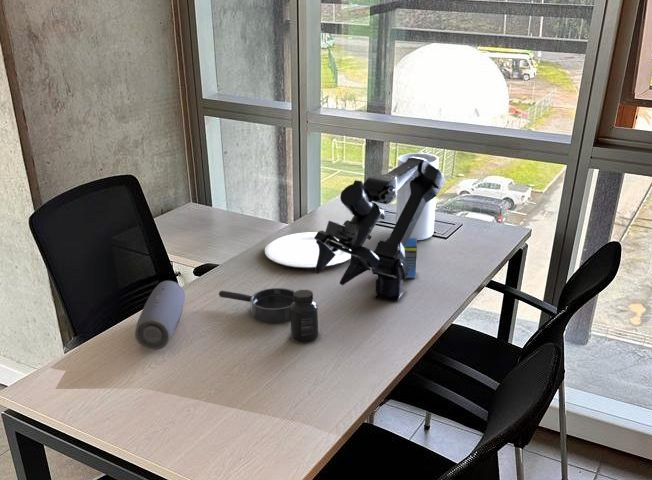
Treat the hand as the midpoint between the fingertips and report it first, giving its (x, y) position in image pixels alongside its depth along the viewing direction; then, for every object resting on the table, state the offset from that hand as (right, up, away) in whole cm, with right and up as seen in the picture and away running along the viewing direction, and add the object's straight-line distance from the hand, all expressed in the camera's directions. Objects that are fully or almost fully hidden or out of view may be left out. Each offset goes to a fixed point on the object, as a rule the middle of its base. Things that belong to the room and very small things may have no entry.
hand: (328, 278), depth 177 cm
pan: (-14, -7, +15) cm, 21 cm away
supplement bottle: (-6, -14, +3) cm, 16 cm away
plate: (-4, +14, +49) cm, 51 cm away
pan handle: (-24, -3, +18) cm, 30 cm away
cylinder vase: (+31, +23, +61) cm, 72 cm away
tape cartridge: (+22, +5, +33) cm, 40 cm away
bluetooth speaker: (-42, -13, +7) cm, 45 cm away
